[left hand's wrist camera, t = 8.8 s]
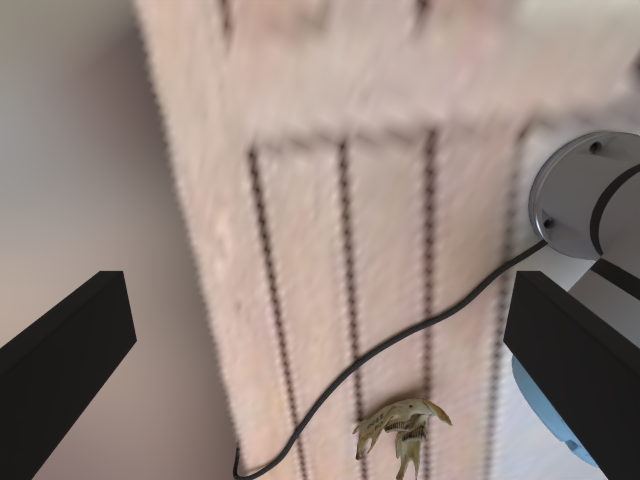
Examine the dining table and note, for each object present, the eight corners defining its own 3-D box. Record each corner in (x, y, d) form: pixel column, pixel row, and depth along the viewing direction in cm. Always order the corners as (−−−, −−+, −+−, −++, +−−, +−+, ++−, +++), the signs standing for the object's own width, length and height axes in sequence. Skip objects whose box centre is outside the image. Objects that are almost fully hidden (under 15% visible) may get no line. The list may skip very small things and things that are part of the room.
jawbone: (478, 411, 52) (469, 493, 45) (407, 419, 63) (393, 485, 57) (425, 377, 50) (409, 456, 44) (363, 392, 62) (343, 456, 56)
